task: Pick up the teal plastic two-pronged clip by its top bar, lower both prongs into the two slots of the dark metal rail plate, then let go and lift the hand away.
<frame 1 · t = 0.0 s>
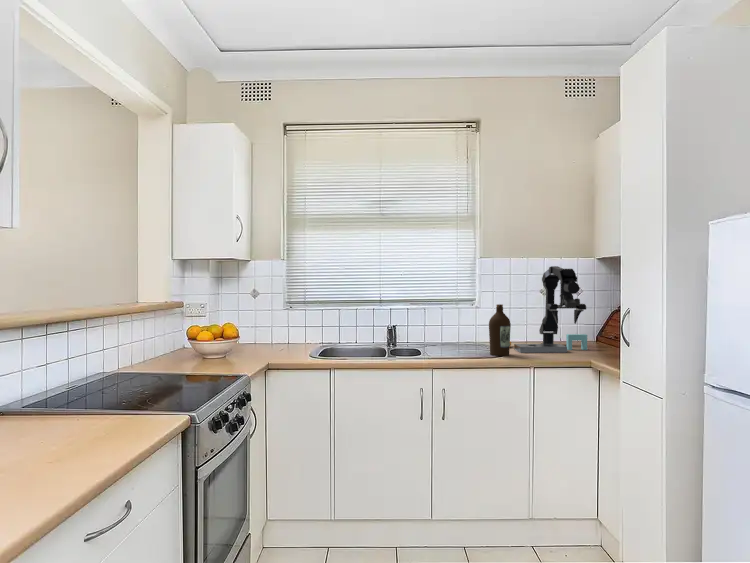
hand: (566, 323, 289), 15 cm above the countertop, tool pointing down, fingers open, 9 cm apart
olive oil: (499, 355, 281), on the countertop
clip: (576, 349, 299), on the countertop
bracket: (502, 347, 310), on the countertop
rail plate: (540, 351, 294), on the countertop
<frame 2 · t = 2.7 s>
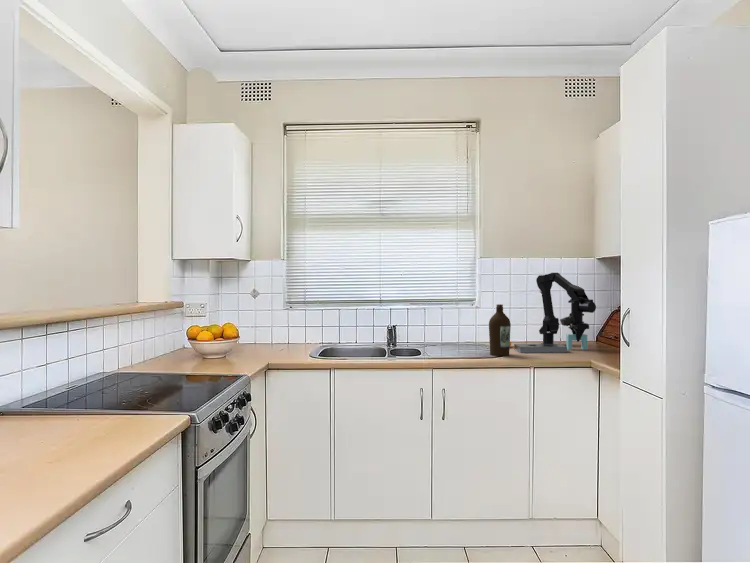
hand: (576, 341, 299), 5 cm above the countertop, tool pointing down, fingers closed on clip, 3 cm apart
clip: (576, 349, 299), on the countertop, touching gripper
everything else where it was.
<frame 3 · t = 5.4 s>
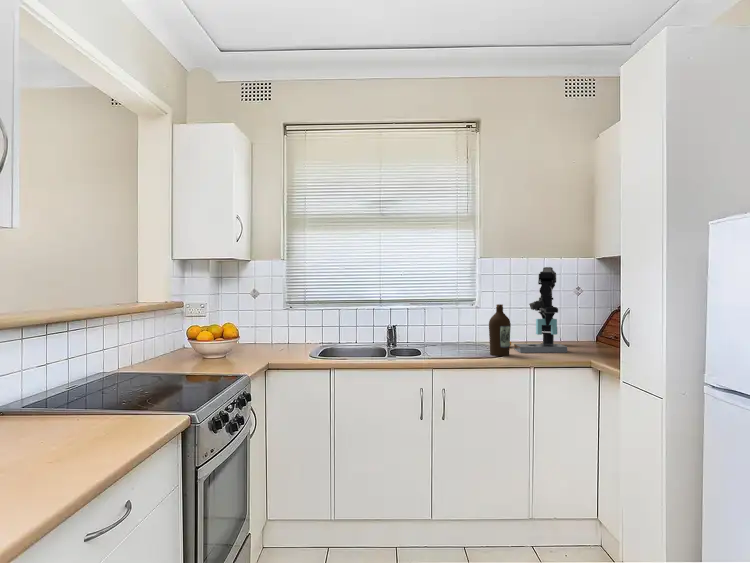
hand: (546, 325, 294), 13 cm above the countertop, tool pointing down, fingers closed on clip, 3 cm apart
clip: (546, 334, 294), point 9 cm above the countertop, touching gripper
everything else where it was.
when the fingers open (6 cm above the countertop, at t = 8.4 s): clip drops 1 cm, resting in rail plate.
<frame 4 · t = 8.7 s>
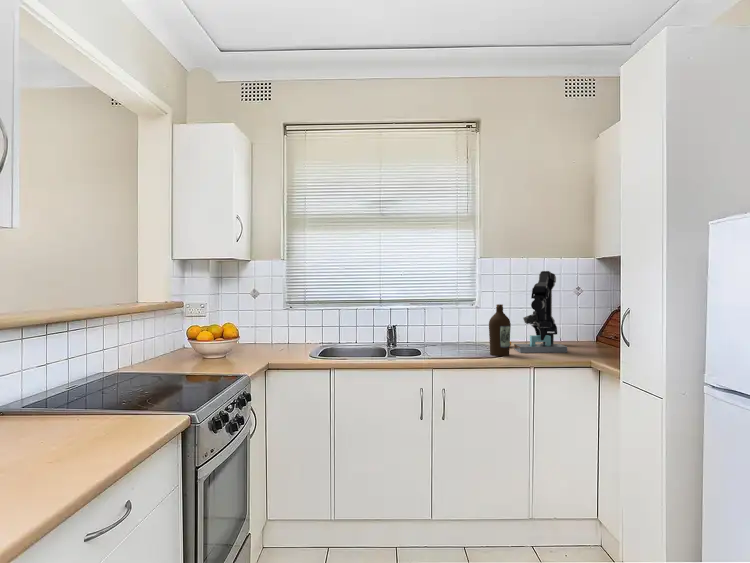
hand: (540, 339, 294), 6 cm above the countertop, tool pointing down, fingers open, 6 cm apart
clip: (540, 351, 294), resting in rail plate
everything else where it was.
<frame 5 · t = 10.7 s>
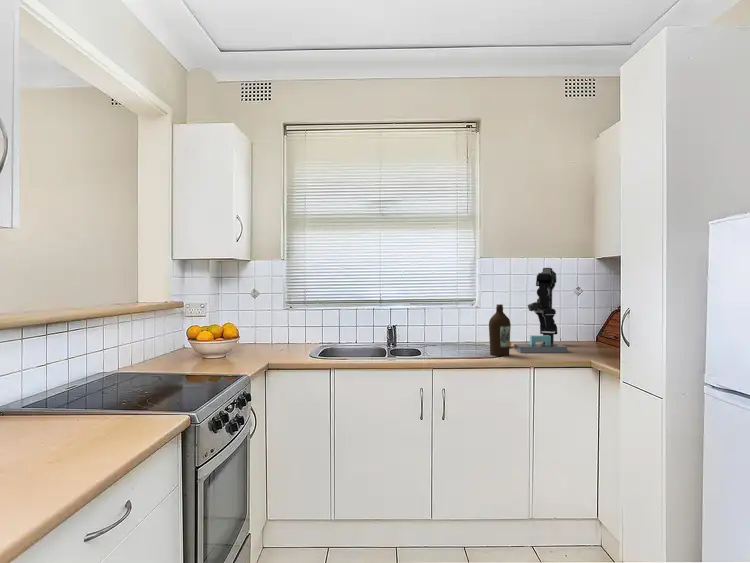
hand: (544, 326, 296), 12 cm above the countertop, tool pointing down, fingers open, 9 cm apart
nothing on the countertop moved.
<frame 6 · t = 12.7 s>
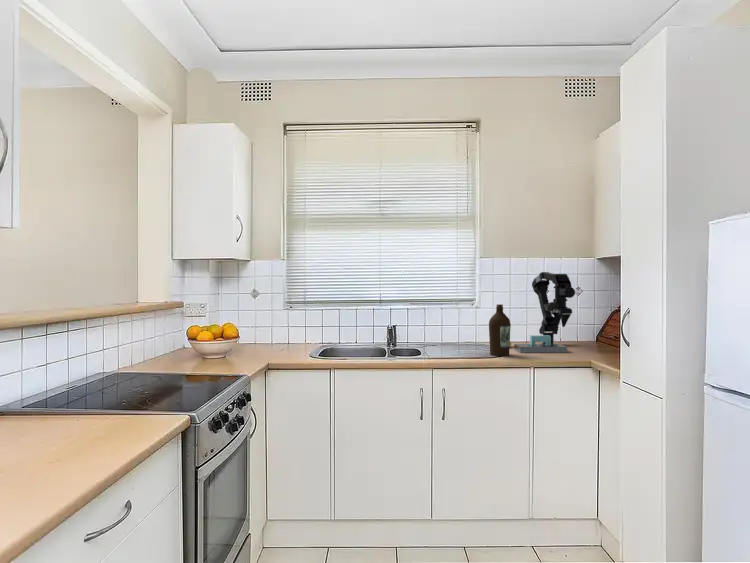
hand: (560, 326, 304), 12 cm above the countertop, tool pointing down, fingers open, 9 cm apart
nothing on the countertop moved.
at the end: clip 0.1 cm off-centre on the rail plate, point 0.0 cm above the rail plate's base; clip tilted 0°; the gripper is holding nothing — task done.
